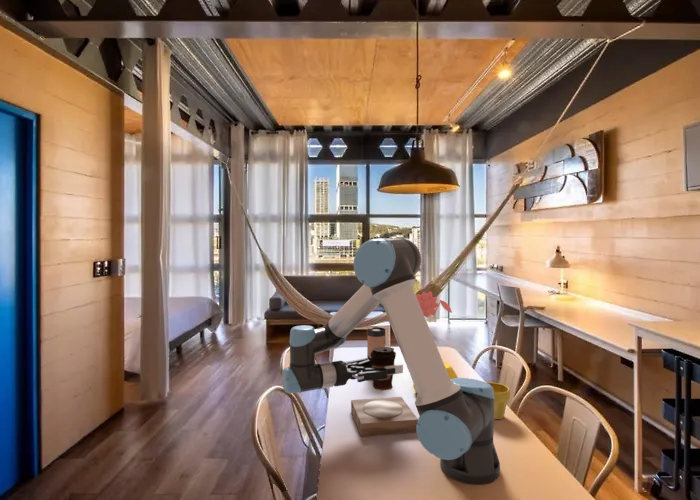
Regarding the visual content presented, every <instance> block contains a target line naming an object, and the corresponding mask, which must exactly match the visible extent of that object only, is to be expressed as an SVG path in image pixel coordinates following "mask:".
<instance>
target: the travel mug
mask: <svg viewBox="0 0 700 500" xmlns="http://www.w3.org/2000/svg"><path fill="white" fill-rule="evenodd" d="M385 334H386V330H385V328H383V327H377V326H374V327H372V328H369V327H368V328H367V346H366V347H367V349H366V351H367V352H366V353H367V356H366V358H368V360H369V357H371V355H370V354H371V352H372V351H373V348H377V347H386V339H385V338H386V336H385Z"/></svg>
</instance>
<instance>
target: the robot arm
mask: <svg viewBox="0 0 700 500" xmlns="http://www.w3.org/2000/svg"><path fill="white" fill-rule="evenodd" d="M420 251H421V250H420V249H419V247H418V246H417V245H416V244H415V243H414V242H413V241H412V240H409V239H406V238H403V237H395V238H383V237H378V238H373V239H368V240H367V241H365V242H363V243H362V244H361V245H360V246H359V247H358V249H357V250H356V253H355V256H354V258H353V272H354V274H355V277H356V278H357V280H358V281H359V282H360V283H361V284H362V286H361V287H360V288H359V289H358V290H357V291H356V292H354V294H353V295H352V296H351V297H350V298H349V299H348V300H347V301H346V302H345V303H344V305H342V306H341V307H340V308H339V309H338V310H337V312H335V313H334V314H333V316H332V317H331V318H330V319H329V320H328V321H327V322H326V323H325V324H324V325H323V326H322V327H317V328H315V327H314V326H312V325H303V324H302V325H296V326H292V328H291V329H290V332H289V341H288V342H289V366H287V367H285V368H284V369H282V373H281V384H282V389H283V390H284V392H285V393H286V394H295V393H296V394H298V393H304V392H309V391H317V390H321V389H322V390H323V391H324V390H326V389H328V388H333V387H336V388H337V387H341V386H345V385H347V384H348V383H347V382H348V381H349V380H357V383H362V382H363V383H364V382H367V381H368V382H369V381H373V380H379V379H387V375H393V376H394V375H397V374H398V375H400V374H403V373H404V364H402V363H400V364H398V363H397V364H394V365H392V366H385V367H384V368H371V357H369V360H368V358H367V357H365V358H359V359H353V360H348V361H344V360H336V361H328V362H327V361H326V362H320V363H316V355H318V354H321V353H324V352H326V351H329V350H333V349H337V348H338V347H340V346H342V345H344V344H345V342H346V340H347V337H348V335H350V334H351V332H352V331H354V329H355V328H357V326H358V325H360V324H361V323H362V322H363V321H364V320H365V319H366V318H367V317H368V316H369V315H370V314H371V313H372V312H373V311H374V310H375V309H376V308H377V307H378V306H379V305H380V304H382V307H383V309H384V312H385V314H386V316H387V319H388V321H389V322H388V323H389V324H390V326H391V327H390V328H391V329H392V332H393V334H394V337H395V341H397V344H398V347H399V349H400V353H401V355H402V357H403V360H404V362H405V365H406V367H407V371H408V373H409V375H410V377H411V380H412V382H413V383H414V385H415V388H416V390H417V393H418V394H417V393H416V394H417V396H416V399H415V401H414V405H415V407H416V410H417V412H418V415H419V417H417V419H418V422H417V426H416V431H417V432H416V435H417V438H418V440H419V442H420V444H421V445H422V447H423V448H424V449H425V450H426V452H428V453H429V454H430V455H434V456H435V457H436V458H438V459H439V461H440V463H439V465H440V468H441V470H442V471H443V472H444V474H446V475H447V476H449V477H450V478H451V479H453V480H455V481H458V482H461V483H464V484H469V485H487V484H490V483H493V482H495V481H496V480H498V479H499V477H500V475H501V464H500V459H499V456H498V453H497V450H496V447H495V443H494V425H495V424H494V423H495V420H494V400H495V397H494V389H493V387H492V386H491V385H490V384H488V383H486V382H485V381H482V380H478V379H474V378H468V377H467V378H465V377H458V378H454V379H451V380H450V377H449V375H448V373H447V370H446V368H445V365H444V363H443V362H444V361H443V359H442V355H441V353H440V351H439V349H438V346H437V343H436V342H435V339H434V336H433V334H432V331H431V328H430V327H429V325H428V321H427V319H426V317H425V316H424V314H423V312H422V310H421V307H420V305H419V302H418V300H417V297H416V295H417V294H416V293H415V290H414V286H415V284H416V281H417V280H416V277H415V275H417V273H418V272H419V270H420V268H421V266H422V265H421V264H422V256H421V252H420Z"/></svg>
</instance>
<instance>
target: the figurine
mask: <svg viewBox="0 0 700 500" xmlns="http://www.w3.org/2000/svg"><path fill="white" fill-rule="evenodd" d="M415 295H416V297H417V300H418V302H419V305H420V307H421V310H422V312H423V314H424V317H425V318H430V316H435V314H436V313H437V311H438V308H439V306H440V305H441V306H442V308H443V309H444V310H446V311H447V312H449V313H451V314H452V308H451V307H450V305H449V304H448V303H447V302H446V301H445V300H442V299H440V300H439V302H437V300H438V297H437V296H433V292H432V291H428V292H425V291H422V292H421V293H420V294H419V293H416V294H415Z"/></svg>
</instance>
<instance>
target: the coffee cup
mask: <svg viewBox="0 0 700 500" xmlns="http://www.w3.org/2000/svg"><path fill="white" fill-rule="evenodd" d="M394 350H395V348H394V347H391V346H385V347H377V348H373V351H372V352H371V354H370V355H371V368H384V367H385V366H392V365H395V361H396V360H395V359H396V357H397V353H396V351H394ZM393 378H394V374H393V375H387V379H379V380H372V386H373V389H375V390H379V391H389V390H393V387H394V386H393Z"/></svg>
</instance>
